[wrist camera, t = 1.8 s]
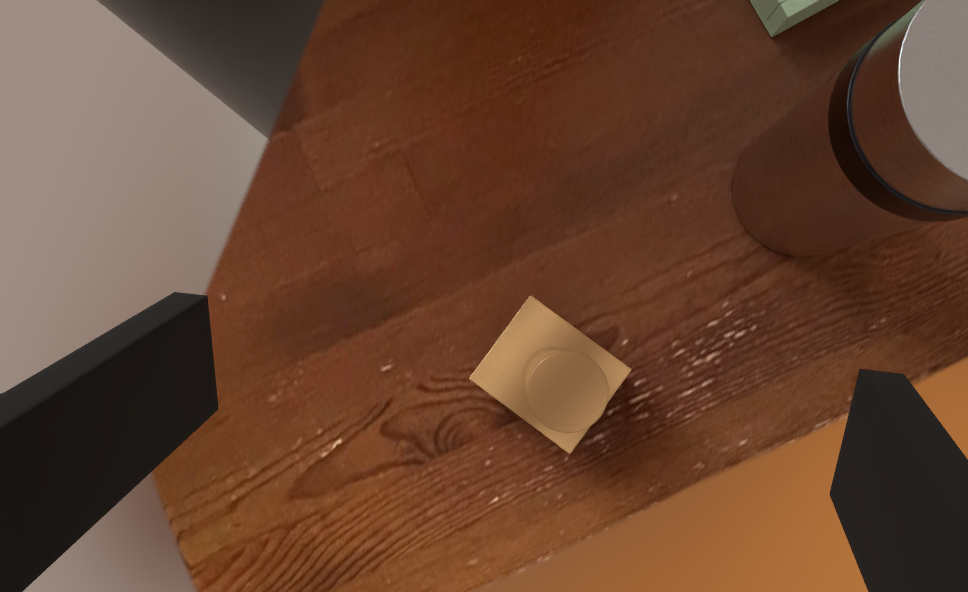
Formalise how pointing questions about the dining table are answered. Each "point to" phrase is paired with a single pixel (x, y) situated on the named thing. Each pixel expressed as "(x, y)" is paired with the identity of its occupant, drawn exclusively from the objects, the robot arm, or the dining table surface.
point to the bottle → (867, 143)
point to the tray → (786, 12)
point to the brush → (550, 374)
